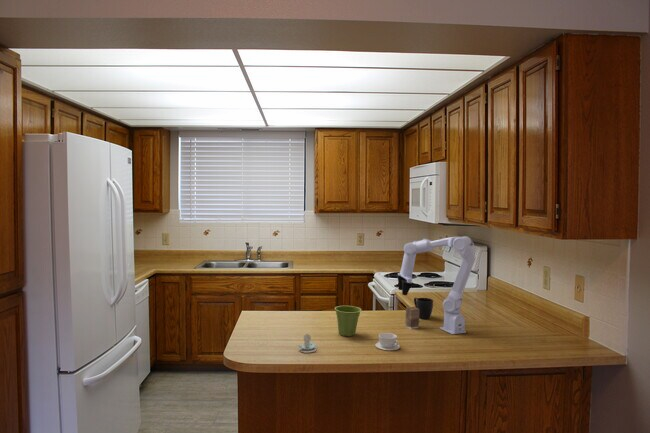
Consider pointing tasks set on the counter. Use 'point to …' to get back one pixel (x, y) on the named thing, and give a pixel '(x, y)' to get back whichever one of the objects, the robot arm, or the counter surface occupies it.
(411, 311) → the walnut block
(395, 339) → the teacup
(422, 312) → the mug
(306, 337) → the pacifier
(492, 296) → the counter surface
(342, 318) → the plant pot
